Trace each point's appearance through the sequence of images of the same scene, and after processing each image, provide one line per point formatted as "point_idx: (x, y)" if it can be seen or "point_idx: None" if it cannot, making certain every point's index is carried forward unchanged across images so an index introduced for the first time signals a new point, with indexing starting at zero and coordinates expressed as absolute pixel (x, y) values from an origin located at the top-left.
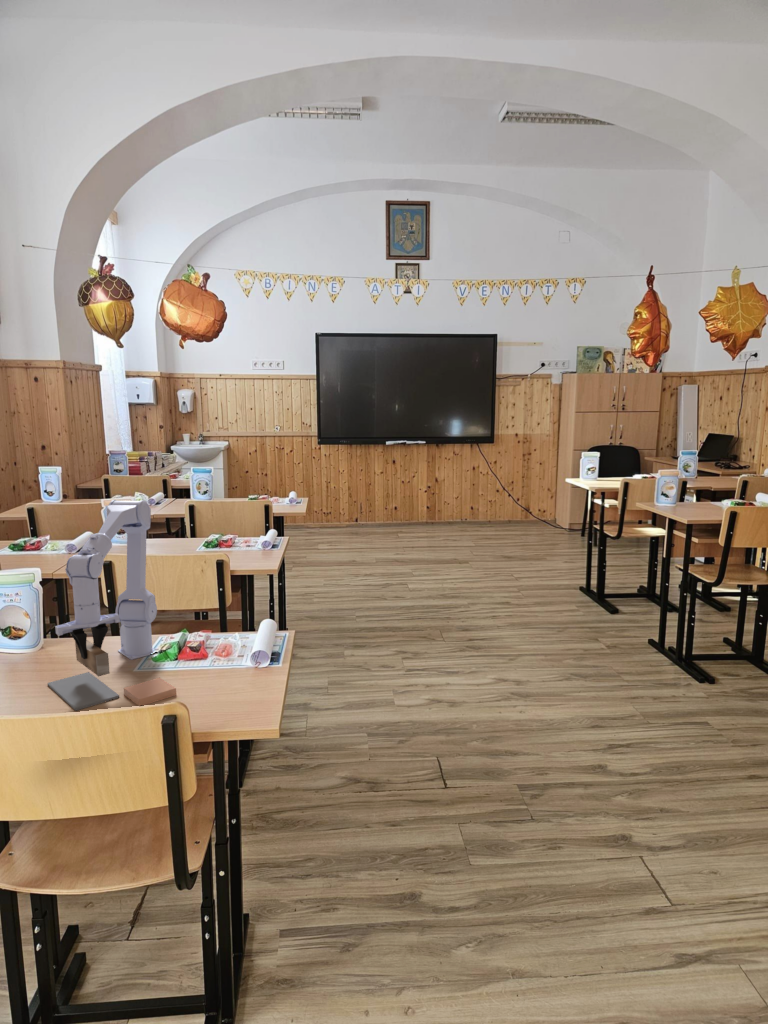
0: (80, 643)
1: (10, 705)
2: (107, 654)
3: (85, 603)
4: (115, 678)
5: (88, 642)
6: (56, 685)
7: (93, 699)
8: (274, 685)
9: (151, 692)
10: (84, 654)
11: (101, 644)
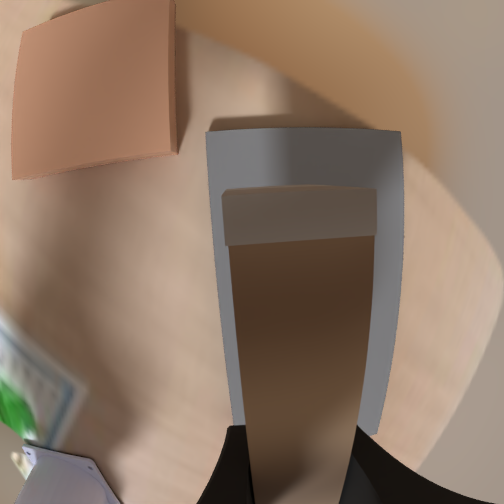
0: (438, 486)
1: (487, 337)
2: (230, 195)
3: None
4: (159, 369)
5: None
6: (369, 405)
7: (319, 165)
8: None
9: (98, 27)
10: (358, 430)
11: (212, 486)
